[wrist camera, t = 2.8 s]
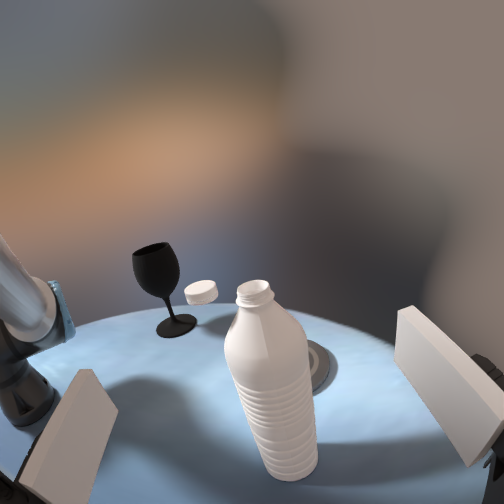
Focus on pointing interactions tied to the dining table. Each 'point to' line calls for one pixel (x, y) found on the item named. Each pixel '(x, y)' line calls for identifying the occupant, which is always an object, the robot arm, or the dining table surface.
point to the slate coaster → (317, 364)
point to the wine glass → (161, 284)
